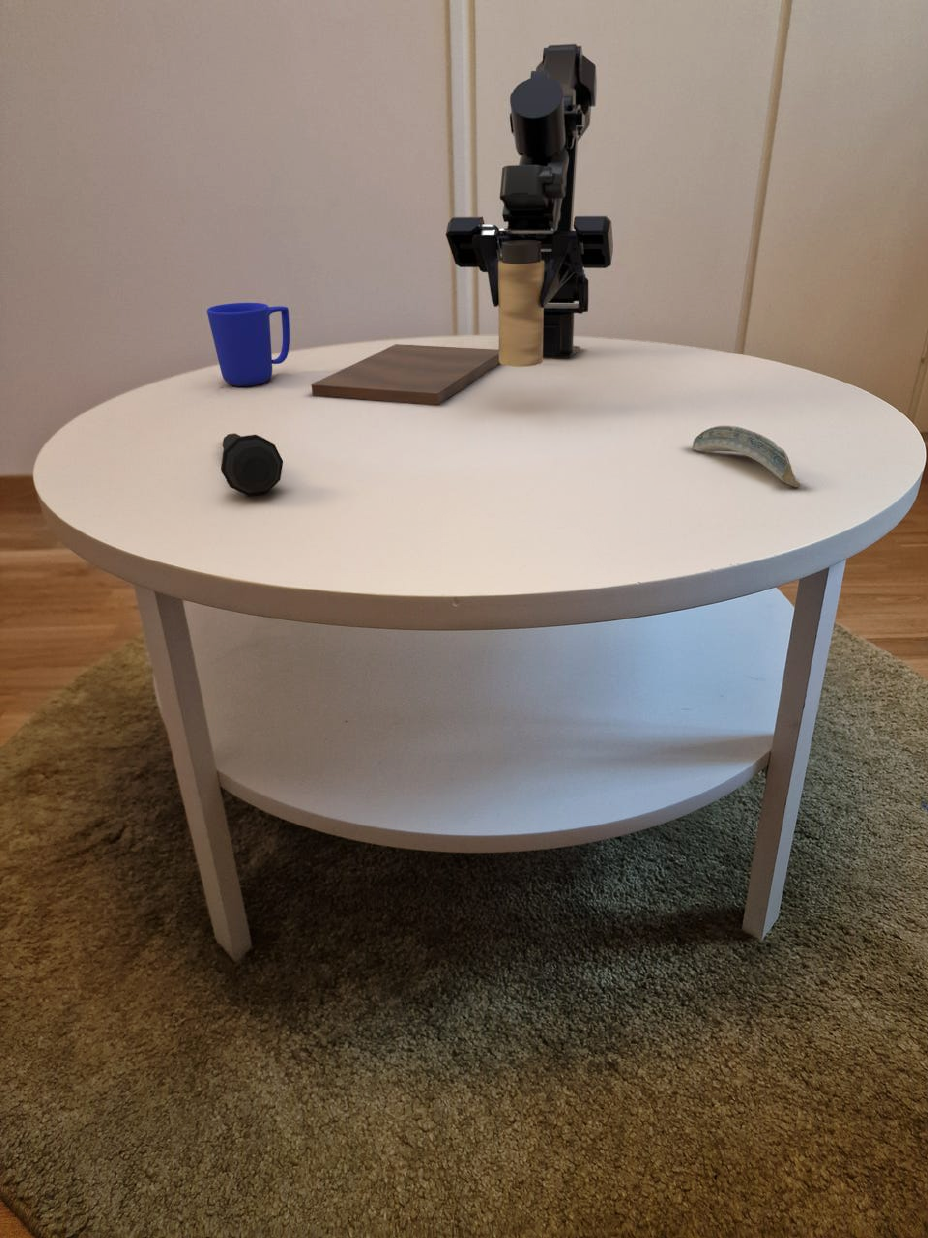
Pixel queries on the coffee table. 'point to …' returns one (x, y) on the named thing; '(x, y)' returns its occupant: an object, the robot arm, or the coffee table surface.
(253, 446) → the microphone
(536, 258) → the pepper mill
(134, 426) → the coffee table surface
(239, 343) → the mug
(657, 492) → the coffee table surface
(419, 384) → the cutting board
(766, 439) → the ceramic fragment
